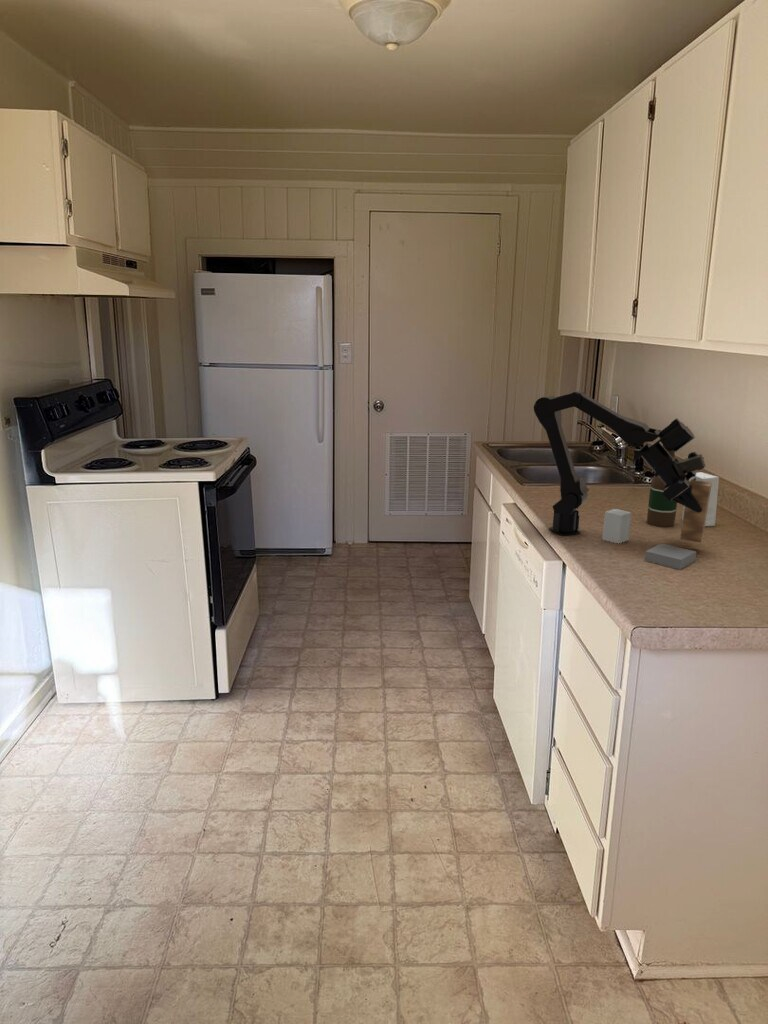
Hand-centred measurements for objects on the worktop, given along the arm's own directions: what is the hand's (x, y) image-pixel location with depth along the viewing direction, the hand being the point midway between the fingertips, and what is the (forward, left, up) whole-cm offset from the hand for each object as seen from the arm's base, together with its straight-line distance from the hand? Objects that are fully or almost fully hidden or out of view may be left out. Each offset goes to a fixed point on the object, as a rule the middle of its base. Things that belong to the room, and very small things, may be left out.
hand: (701, 509), depth 182 cm
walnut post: (-1, +1, -8) cm, 8 cm away
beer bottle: (+9, +24, -12) cm, 28 cm away
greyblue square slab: (-12, -4, -12) cm, 17 cm away
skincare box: (+20, +21, -12) cm, 31 cm away
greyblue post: (-14, +15, -12) cm, 24 cm away
